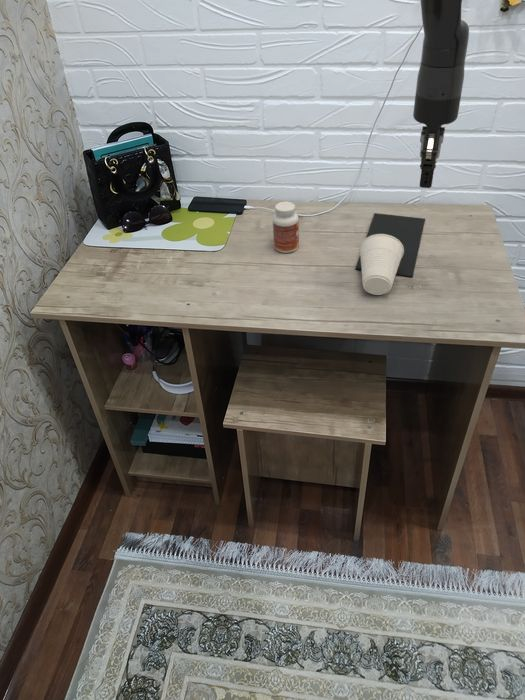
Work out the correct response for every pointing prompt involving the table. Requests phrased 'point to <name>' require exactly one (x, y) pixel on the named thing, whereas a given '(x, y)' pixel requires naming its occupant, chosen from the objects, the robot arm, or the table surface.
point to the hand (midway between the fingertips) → (425, 185)
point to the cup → (380, 262)
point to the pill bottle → (285, 227)
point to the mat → (399, 238)
